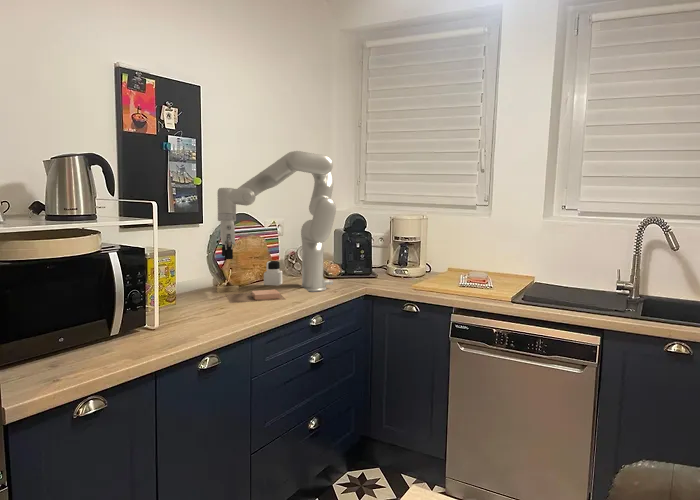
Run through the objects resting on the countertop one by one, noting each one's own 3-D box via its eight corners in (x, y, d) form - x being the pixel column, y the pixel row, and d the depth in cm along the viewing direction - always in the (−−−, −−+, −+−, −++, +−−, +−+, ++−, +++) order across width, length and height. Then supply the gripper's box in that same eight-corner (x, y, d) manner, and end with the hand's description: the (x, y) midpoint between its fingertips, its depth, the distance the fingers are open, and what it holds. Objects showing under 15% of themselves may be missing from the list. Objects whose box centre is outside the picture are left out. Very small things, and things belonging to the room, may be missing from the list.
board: (277, 294, 225) (277, 291, 225) (285, 302, 210) (285, 299, 210) (225, 297, 218) (225, 294, 217) (230, 306, 203) (230, 302, 203)
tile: (275, 289, 218) (279, 293, 211) (275, 294, 219) (279, 298, 211) (251, 290, 215) (255, 294, 208) (251, 295, 215) (255, 300, 208)
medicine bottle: (282, 285, 245) (282, 260, 243) (278, 288, 238) (278, 262, 236) (267, 285, 246) (267, 259, 244) (263, 288, 239) (263, 262, 237)
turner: (255, 291, 231) (255, 283, 231) (258, 294, 225) (258, 286, 224) (216, 293, 225) (216, 285, 225) (218, 297, 219) (218, 289, 219)
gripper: (239, 218, 213) (239, 260, 215) (232, 215, 229) (233, 254, 231) (220, 218, 210) (220, 260, 212) (215, 215, 226) (215, 255, 228)
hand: (227, 257), depth 222 cm, fingers open, 9 cm apart
